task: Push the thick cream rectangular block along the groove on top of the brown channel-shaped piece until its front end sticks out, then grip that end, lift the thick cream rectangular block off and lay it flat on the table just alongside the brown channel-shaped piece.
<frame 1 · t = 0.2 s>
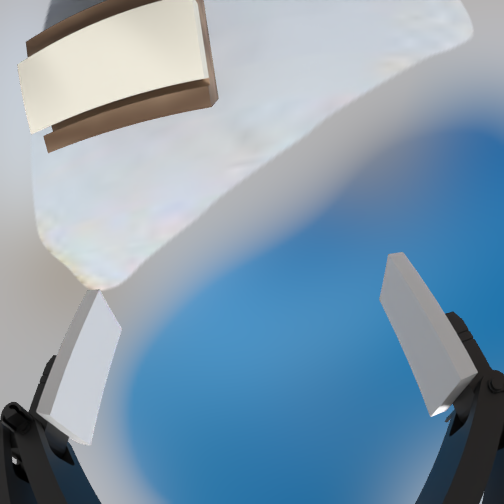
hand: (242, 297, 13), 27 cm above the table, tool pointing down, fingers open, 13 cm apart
thick cream rectangular block: (113, 63, 22), point 8 cm above the table, touching brown channel-shaped piece
brown channel-shaped piece: (138, 64, 28), on the table
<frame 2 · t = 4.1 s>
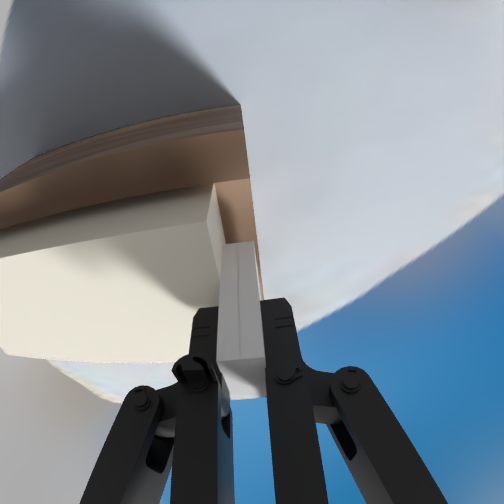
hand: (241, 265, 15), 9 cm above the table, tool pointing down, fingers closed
thick cream rectangular block: (84, 269, 16), point 8 cm above the table
brown channel-shaped piece: (140, 207, 23), on the table
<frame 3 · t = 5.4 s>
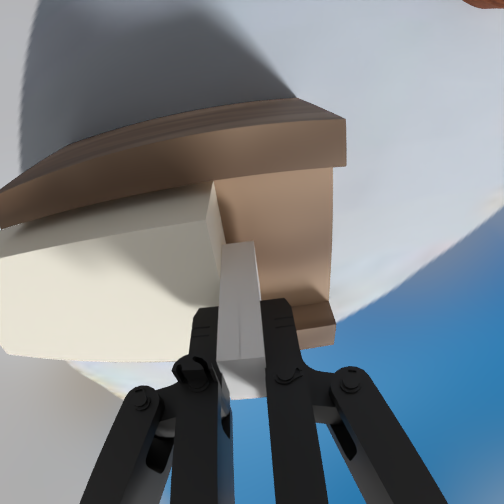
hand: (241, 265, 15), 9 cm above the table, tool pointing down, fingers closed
thick cream rectangular block: (85, 269, 16), point 8 cm above the table, touching brown channel-shaped piece, gripper
brown channel-shaped piece: (187, 199, 22), on the table
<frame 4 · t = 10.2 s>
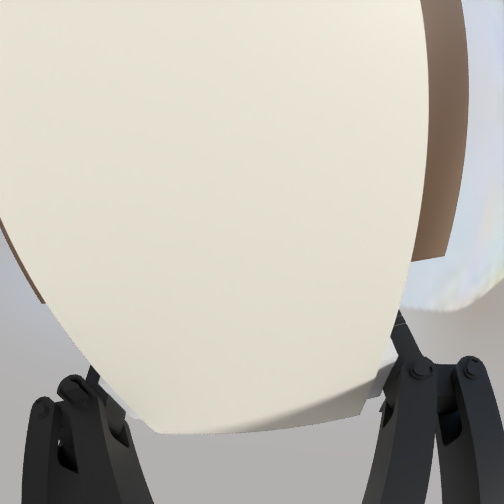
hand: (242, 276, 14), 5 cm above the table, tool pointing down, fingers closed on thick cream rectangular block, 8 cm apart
thick cream rectangular block: (208, 148, 8), point 8 cm above the table, touching brown channel-shaped piece, gripper
brown channel-shaped piece: (209, 15, 11), on the table
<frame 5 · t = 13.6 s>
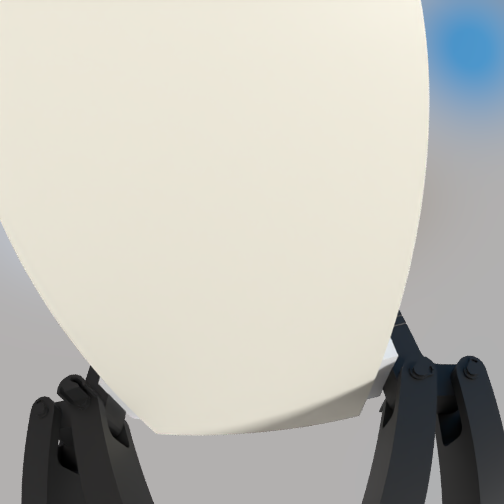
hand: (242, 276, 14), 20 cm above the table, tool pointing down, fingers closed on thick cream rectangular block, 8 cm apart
thick cream rectangular block: (208, 150, 8), point 22 cm above the table, touching gripper
when the fingers open (0 cm above the table, at t = 16.9 s): thick cream rectangular block drops 3 cm, on the table.
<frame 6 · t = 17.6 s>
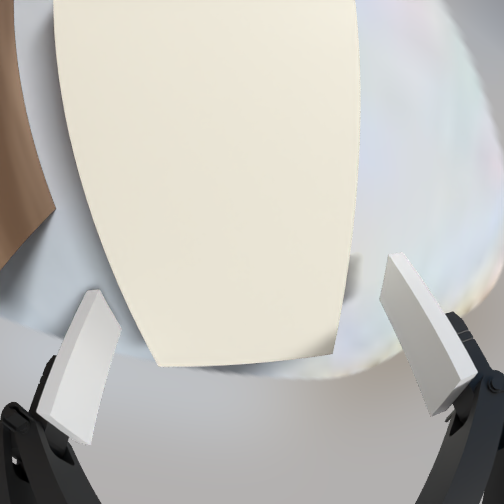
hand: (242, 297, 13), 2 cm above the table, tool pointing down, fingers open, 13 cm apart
thick cream rectangular block: (220, 130, 11), on the table
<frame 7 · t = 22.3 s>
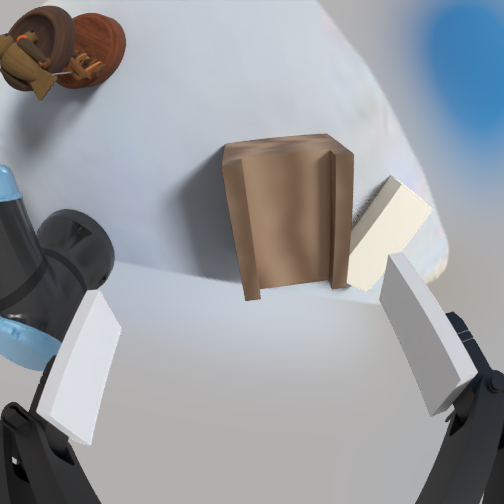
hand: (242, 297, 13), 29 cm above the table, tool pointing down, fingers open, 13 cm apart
thick cream rectangular block: (375, 230, 45), on the table
music box: (87, 49, 27), on the table
brown channel-shaped piece: (282, 199, 41), on the table
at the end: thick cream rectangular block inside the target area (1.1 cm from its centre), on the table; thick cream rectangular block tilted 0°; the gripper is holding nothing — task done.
